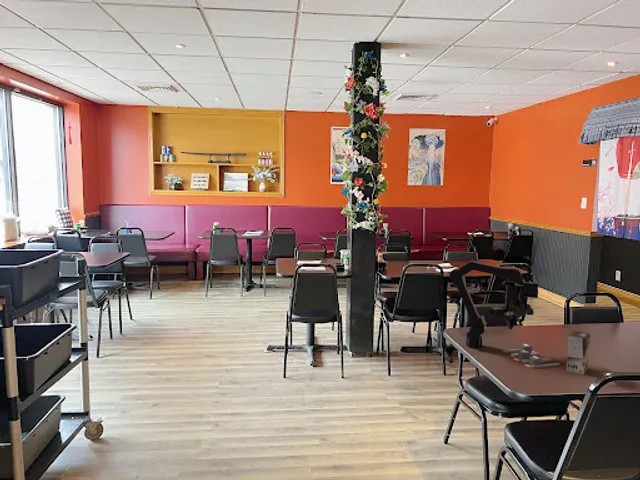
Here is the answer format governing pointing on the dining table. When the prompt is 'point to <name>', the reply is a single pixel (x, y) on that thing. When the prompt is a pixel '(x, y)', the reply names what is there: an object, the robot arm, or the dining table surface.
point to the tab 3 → (535, 360)
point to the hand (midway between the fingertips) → (510, 329)
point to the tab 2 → (523, 355)
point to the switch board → (528, 359)
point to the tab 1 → (526, 347)
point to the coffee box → (578, 352)
